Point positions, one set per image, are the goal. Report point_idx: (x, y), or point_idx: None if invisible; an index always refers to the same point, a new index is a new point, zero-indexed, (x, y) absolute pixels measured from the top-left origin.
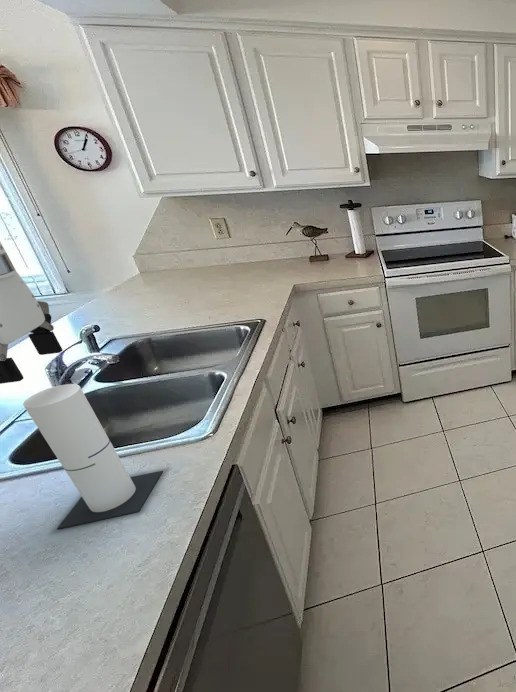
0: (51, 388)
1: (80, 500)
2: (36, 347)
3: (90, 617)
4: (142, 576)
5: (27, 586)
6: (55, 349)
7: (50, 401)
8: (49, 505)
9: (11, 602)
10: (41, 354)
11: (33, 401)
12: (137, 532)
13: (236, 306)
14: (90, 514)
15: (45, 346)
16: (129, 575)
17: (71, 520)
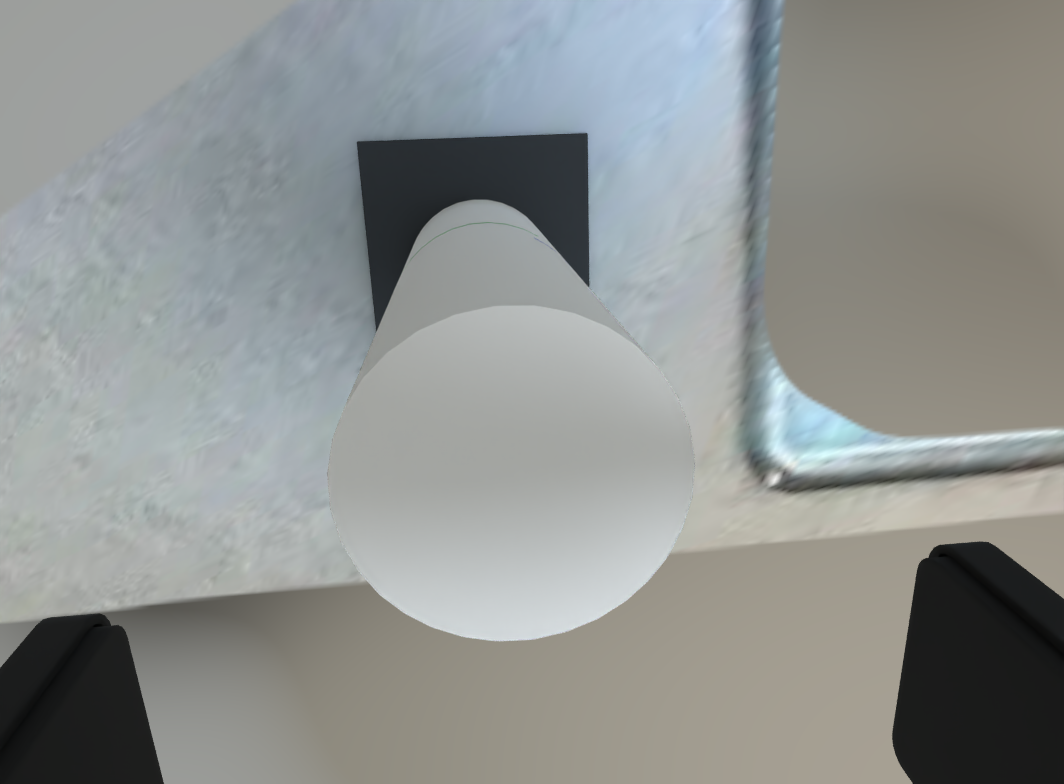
0: (655, 398)
1: (498, 144)
2: (1004, 642)
3: None
4: (107, 533)
5: (111, 198)
6: (927, 765)
7: (401, 537)
8: (509, 15)
9: (55, 187)
10: (922, 570)
11: (439, 395)
12: (287, 438)
13: None
14: (404, 233)
15: (980, 748)
16: (115, 496)
17: (389, 174)
